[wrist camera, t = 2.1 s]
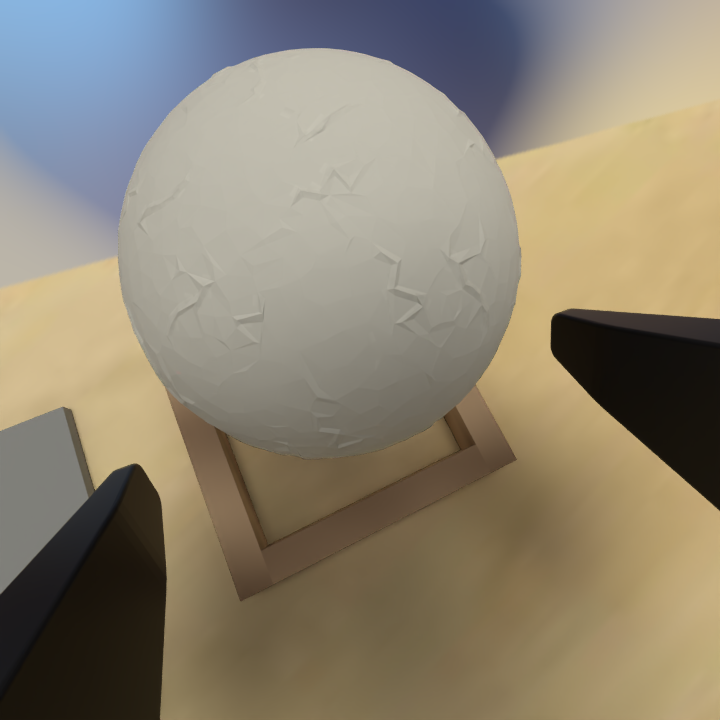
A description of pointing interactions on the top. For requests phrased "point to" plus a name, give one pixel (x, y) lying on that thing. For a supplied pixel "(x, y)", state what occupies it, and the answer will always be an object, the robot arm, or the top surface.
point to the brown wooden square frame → (344, 527)
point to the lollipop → (318, 253)
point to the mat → (38, 486)
